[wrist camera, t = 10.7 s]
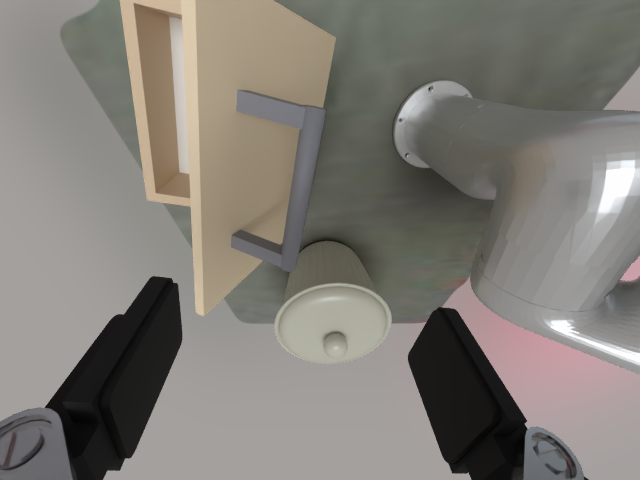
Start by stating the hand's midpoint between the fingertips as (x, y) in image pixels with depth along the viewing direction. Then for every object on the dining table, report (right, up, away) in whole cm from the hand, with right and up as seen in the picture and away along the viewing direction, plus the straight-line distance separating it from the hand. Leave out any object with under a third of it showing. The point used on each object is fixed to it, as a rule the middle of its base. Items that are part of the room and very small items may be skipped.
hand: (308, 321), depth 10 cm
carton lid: (-4, +10, +16) cm, 19 cm away
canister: (+2, -2, +47) cm, 47 cm away
